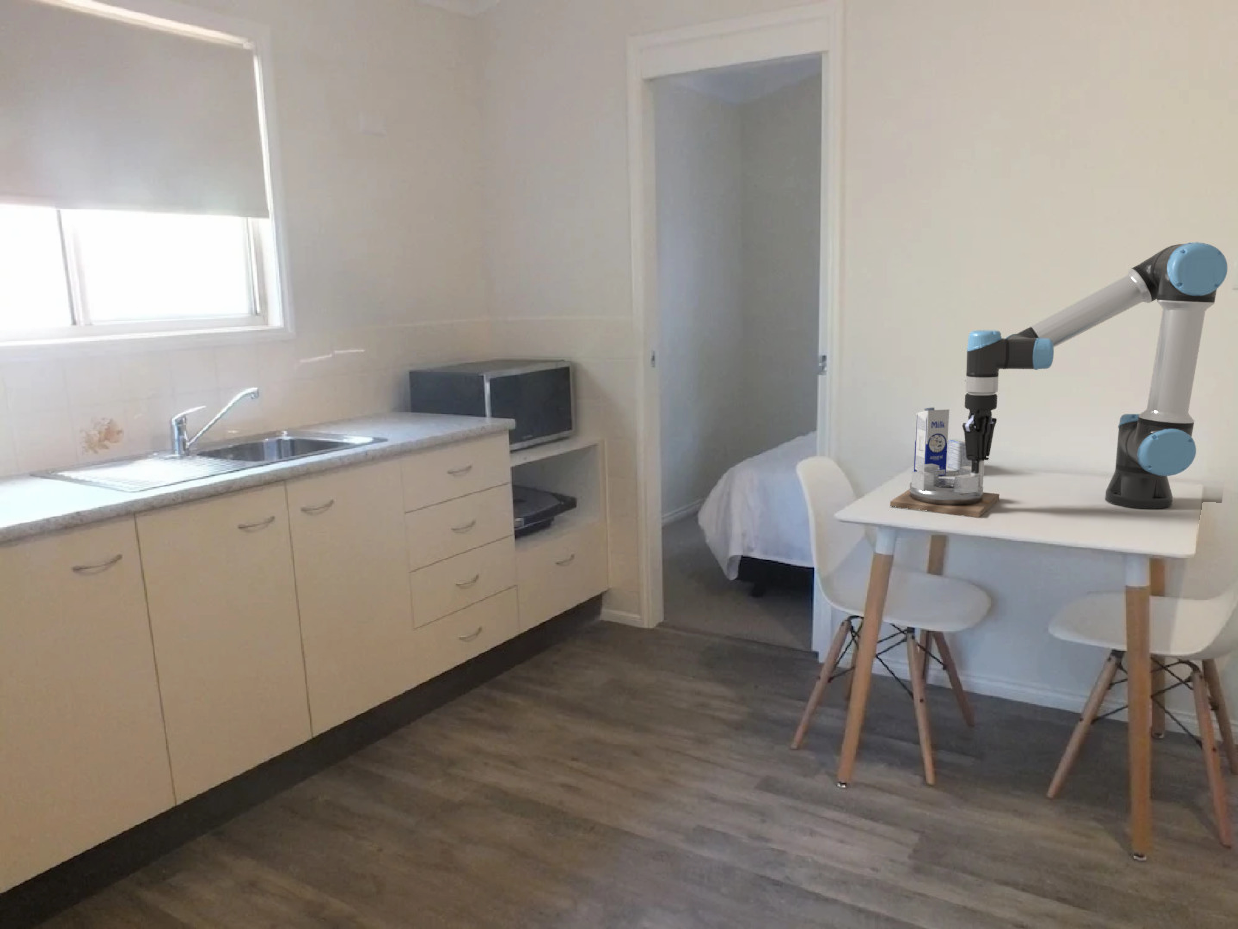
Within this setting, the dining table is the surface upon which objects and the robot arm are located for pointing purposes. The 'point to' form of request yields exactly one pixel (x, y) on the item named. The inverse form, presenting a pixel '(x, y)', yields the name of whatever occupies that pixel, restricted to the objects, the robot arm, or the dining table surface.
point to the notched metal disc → (945, 486)
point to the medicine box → (957, 454)
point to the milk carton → (931, 438)
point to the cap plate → (966, 510)
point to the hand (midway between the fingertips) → (976, 485)
